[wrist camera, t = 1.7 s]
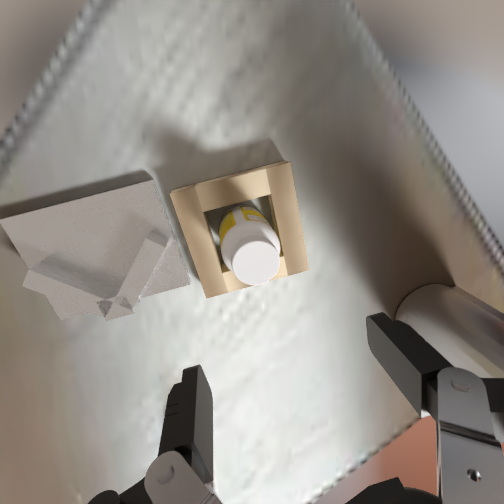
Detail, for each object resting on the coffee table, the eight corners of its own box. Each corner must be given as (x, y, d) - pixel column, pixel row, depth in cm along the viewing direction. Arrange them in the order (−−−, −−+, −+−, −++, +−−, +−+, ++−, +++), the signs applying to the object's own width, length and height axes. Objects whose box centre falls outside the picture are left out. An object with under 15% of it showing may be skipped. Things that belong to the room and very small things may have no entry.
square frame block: (284, 160, 29) (290, 162, 27) (302, 261, 34) (309, 269, 32) (172, 189, 29) (169, 194, 26) (206, 287, 33) (206, 298, 31)
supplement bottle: (227, 256, 32) (233, 301, 23) (212, 212, 30) (212, 243, 21) (271, 242, 33) (294, 281, 23) (259, 198, 30) (280, 222, 21)
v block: (153, 179, 28) (145, 183, 25) (191, 282, 33) (189, 297, 30) (5, 217, 28) (-22, 227, 24) (66, 317, 32) (50, 336, 29)
